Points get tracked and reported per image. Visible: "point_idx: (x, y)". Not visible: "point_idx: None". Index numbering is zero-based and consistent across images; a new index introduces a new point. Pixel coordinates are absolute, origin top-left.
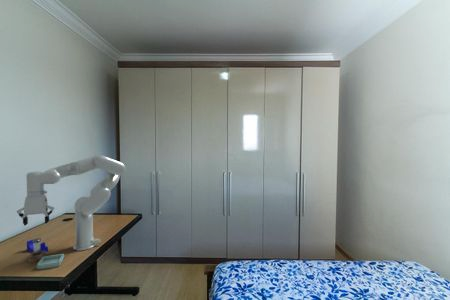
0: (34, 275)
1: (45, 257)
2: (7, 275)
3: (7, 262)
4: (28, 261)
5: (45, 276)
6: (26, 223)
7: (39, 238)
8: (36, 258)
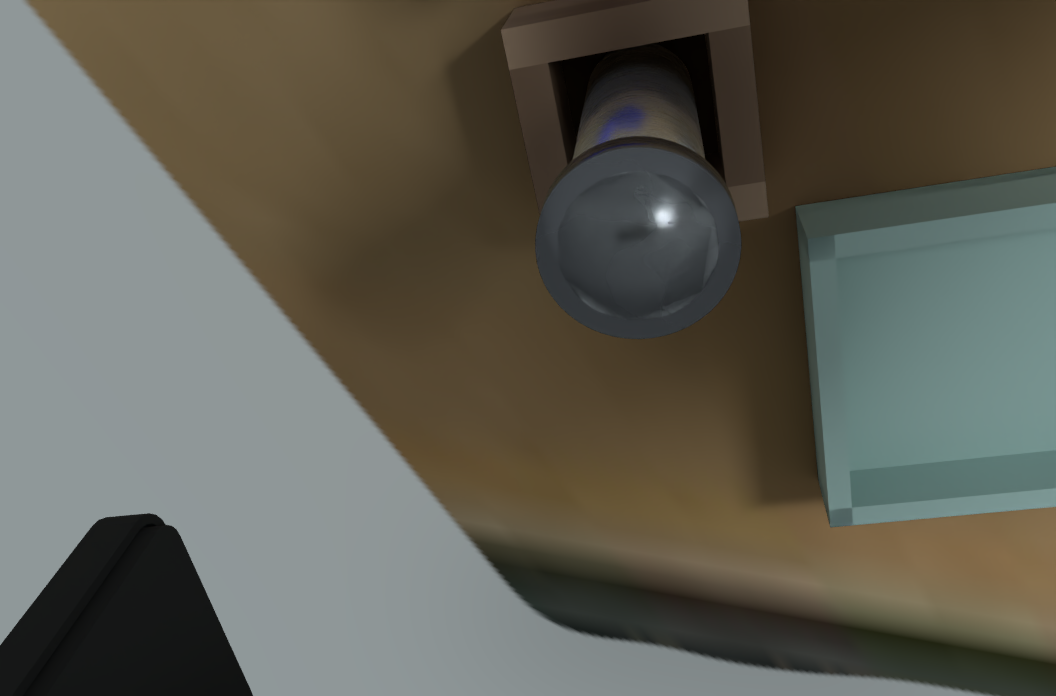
0: (854, 599)
1: (856, 250)
2: (498, 535)
3: (196, 155)
4: None
5: (1009, 646)
6: (201, 678)
7: (665, 161)
8: None
